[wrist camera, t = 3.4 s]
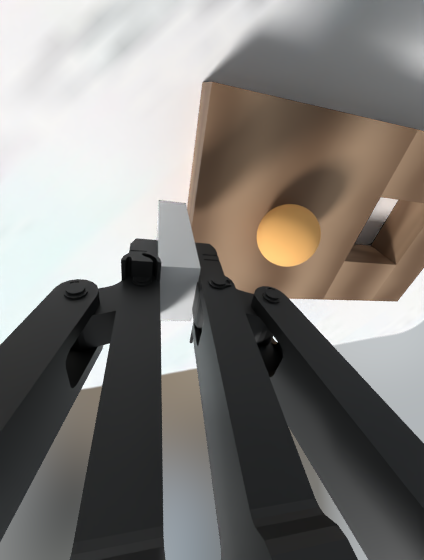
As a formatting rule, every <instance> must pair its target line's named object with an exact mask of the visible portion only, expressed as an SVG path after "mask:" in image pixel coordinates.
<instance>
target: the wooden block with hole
mask: <svg viewBox="0 0 424 560" xmlns="http://www.w3.org/2000/svg"><path fill="white" fill-rule="evenodd" d="M380 197H384V198H391V199H398V202H397V204H396V205H395V207H394V208H393V210H392V212H391V213H390V215H389V217H388V218H387V220H386V222H385V223H384V225H383V227H382V228H381V230H380V231H379V233H378V235H377V236H376V238H375V240H374V241H373V243H372V245H371V246H369V245H358V244H354V243H355V242H356V240H357V238H358V236H359V234H360V233H361V231H362V229H363V227H364V226H365V224H366V222H367V220H368V218H369V217H370V215H371V213H372V211H373V210H374V208H375V206H376V204H377V202H378V201H379V199H380ZM285 204H296V205H300V206H303V207H305V208H307V209H308V210H310V211H311V212H312V213H313V214H314V215H315V217H316V218H317V220H318V222H319V225H320V229H321V239H320V243H319V246H318V248H317V250H316V251H315V253H314V254H313V255H312V256H311V257H310V258H309V259H308V260H307V261H305V262H303V263H301V264H299V265H296V266H290V267H285V266H279V265H276V264H273V263H272V262H270V261H268V260H267V259H266V258H265V257H264V256H263V255H262V253H261V252H260V250H259V247H258V244H257V229H258V226H259V224H260V222H261V220H262V219H263V217H264V216H265V215H266V214H267V213H268V212H269V211H270V210H272V209H274V208H275V207H278V206H281V205H285ZM187 211H188V216H189V220H190V224H191V229H192V233H193V237H194V242H195V243H207V244H211V245H212V246H213V247H214V248H215V249H216V252H217V255H218V258H219V261H220V263H221V266H222V269H223V272H224V275H225V276H226V277H228V278H229V279H231V280H232V281H233V283H234V285H235V287H236V289H238V290H241V291H244V292H248V293H252V294H254V292H255V290H256V289H257V288H259V287H262V286H269V287H273V288H276V289H278V290H280V291H281V292H282V293H284V294H285V295H286V296H287V297H288V298H291V299H327V300H364V301H398V300H399V299H400V297H401V296H402V295H403V294H404V292H405V291H406V290H407V288H408V287H409V286H410V285H411V283H412V282H413V281H414V280H415V278H416V277H417V276H418V275H419V273H420V272H421V271H422V269H423V268H424V131H422V130H417V129H413V128H409V127H405V126H400V125H396V124H392V123H387V122H383V121H379V120H374V119H370V118H366V117H361V116H357V115H353V114H349V113H344V112H340V111H336V110H331V109H327V108H323V107H318V106H314V105H310V104H306V103H301V102H297V101H293V100H288V99H284V98H280V97H275V96H271V95H267V94H262V93H258V92H254V91H250V90H245V89H241V88H237V87H232V86H228V85H224V84H219V83H215V82H203V83H202V91H201V99H200V107H199V115H198V124H197V132H196V140H195V148H194V156H193V164H192V173H191V181H190V189H189V197H188V205H187Z"/></svg>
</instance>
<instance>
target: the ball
mask: <svg viewBox="0 0 424 560" xmlns="http://www.w3.org/2000/svg"><path fill="white" fill-rule="evenodd" d="M320 239H321V229H320V225H319V222H318V220H317V218H316V217H315V215H314V214H313V213H312V212H311V211H310V210H308V209H307V208H305V207H303V206H300V205H296V204H285V205H281V206H278V207H275V208H274V209H272V210H270V211H269V212H268V213H267V214H266V215H265V216H264V217H263V219H262V220H261V222H260V224H259V226H258V229H257V244H258V247H259V250H260V252H261V253H262V255H263V256H264V257H265V258H266V259H267V260H268V261H270V262H272V263H273V264H276V265H279V266H285V267H290V266H296V265H299V264H301V263H303V262H305V261H307V260H308V259H309V258H310V257H311V256H312V255H313V254H314V253H315V251H316V250H317V248H318V246H319V243H320Z"/></svg>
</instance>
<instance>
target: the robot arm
mask: <svg viewBox="0 0 424 560" xmlns="http://www.w3.org/2000/svg"><path fill="white" fill-rule="evenodd" d="M121 269H122V281H121V282H119V283H118V284H115V285H113V286H109V287H105V288H99V289H98V287H97V285H96V284H94V283H93V282H91V281H88V280H80V279H76V280H70V281H66V282H64V283H61V284H60V285H58V286H57V287H56V288H54V289H53V291H52V292H51V293H50V294H49V295H48V296H47V297H46V298H45V299H44V300H43V301H42V302H41V303H40V304H39V305H38V306H37V307H36V308H35V309H34V310H33V311H32V312H31V313H30V315H29V316H28V317H27V318H26V319H25V320H24V321H23V322H22V323H21V324H20V325H19V326H18V327H17V328H16V329H15V330H14V331H13V332H12V333H11V334H10V335H9V336H8V338H7V339H6V340H5V341H4V342H3V343H2V344H1V345H0V541H1V539H2V538H3V536H4V534H5V532H6V530H7V528H8V526H9V524H10V522H11V520H12V518H13V517H14V515H15V513H16V511H17V509H18V507H19V505H20V504H21V502H22V500H23V498H24V496H25V494H26V492H27V490H28V488H29V486H30V485H31V483H32V481H33V479H34V477H35V475H36V473H37V471H38V470H39V468H40V466H41V464H42V462H43V460H44V458H45V456H46V454H47V453H48V451H49V449H50V447H51V445H52V443H53V441H54V439H55V437H56V436H57V434H58V432H59V430H60V428H61V426H62V424H63V422H64V420H65V418H66V417H67V415H68V413H69V411H70V409H71V407H72V405H73V403H74V402H75V400H76V398H77V396H78V394H79V392H80V390H81V388H82V386H83V385H84V383H85V381H86V379H87V377H88V375H89V373H90V371H91V369H92V367H93V366H94V364H95V362H96V360H97V358H98V356H99V354H100V352H101V350H102V349H103V345H105V344H109V343H110V347H109V352H108V358H107V363H106V369H105V374H104V380H103V385H102V391H101V396H100V402H99V407H98V412H97V418H96V423H95V429H94V435H93V440H92V446H91V451H90V456H89V462H88V467H87V473H86V478H85V483H84V489H83V494H82V500H81V505H80V511H79V517H78V522H77V527H76V532H75V538H74V543H73V548H72V553H71V557H70V560H165V552H164V539H163V485H162V484H163V482H162V481H163V480H162V479H163V477H162V402H161V321H191V318H192V313H193V319H194V322H193V327H192V332H191V337H190V343H192V342H193V341H194V349H195V356H196V364H197V371H198V379H199V386H200V394H201V401H202V409H203V416H204V424H205V431H206V438H207V446H208V454H209V461H210V469H211V476H212V484H213V491H214V498H215V505H216V514H217V521H218V529H219V536H220V545H221V560H358V559H357V557H356V555H355V553H354V551H353V549H352V547H351V545H350V543H349V541H348V539H347V537H346V536H345V535H344V533H343V532H342V531H341V529H340V528H339V526H338V525H337V524H336V523H334V522H333V521H332V520H331V519H329V518H328V517H327V516H326V515H325V514H324V513H323V512H322V510H321V509H320V507H319V505H318V503H317V501H316V499H315V497H314V494H313V491H312V489H311V486H310V483H309V481H308V478H307V475H306V473H305V470H304V468H303V465H302V462H301V460H300V457H299V454H298V451H297V449H296V446H295V444H294V441H293V438H292V436H291V433H290V430H291V431H292V433H293V435H294V436H295V438H296V440H297V441H298V443H299V445H300V446H301V448H302V450H303V451H304V453H305V455H306V456H307V458H308V460H309V461H310V463H311V465H312V466H313V468H314V469H315V471H316V473H317V475H318V476H319V478H320V480H321V481H322V483H323V485H324V486H325V488H326V490H327V491H328V493H329V495H330V496H331V498H332V500H333V501H334V503H335V505H336V506H337V508H338V510H339V511H340V513H341V515H342V516H343V518H344V519H345V521H346V523H347V524H348V526H349V528H350V530H351V531H352V533H353V535H354V536H355V538H356V540H357V541H358V543H359V545H360V546H361V548H362V549H363V551H364V553H365V554H366V556H367V558H368V560H424V443H423V442H422V441H421V440H420V439H419V438H418V437H417V436H416V435H415V434H414V433H413V432H412V430H411V429H410V428H409V427H408V426H407V425H406V424H405V423H404V422H403V421H402V420H401V419H400V418H399V417H398V415H397V414H396V413H395V412H394V411H393V410H392V409H391V408H390V407H389V406H388V405H387V404H386V403H385V402H384V401H383V399H382V398H381V397H380V396H379V395H378V394H377V393H376V392H375V391H374V390H373V389H372V388H371V386H370V385H369V384H368V383H367V382H366V381H365V380H364V379H363V378H362V377H361V376H360V375H359V374H358V372H357V371H356V370H355V369H354V368H353V367H352V366H351V365H350V364H349V363H348V362H347V361H346V360H345V359H344V358H343V356H342V355H341V354H340V353H339V352H338V351H337V350H336V349H335V348H334V347H333V346H332V345H331V343H330V342H329V341H328V340H327V339H326V338H325V337H324V336H323V335H322V334H321V333H320V332H319V331H318V330H317V328H316V327H315V326H314V325H313V324H312V323H311V322H310V321H309V320H308V319H307V318H306V317H305V316H304V315H303V313H302V312H301V311H300V310H299V309H298V308H297V307H296V306H295V305H294V304H293V303H292V302H291V301H290V299H289V298H288V297H287V296H286V295H285V294H284V293H282V292H281V291H280V290H278V289H276V288H273V287H269V286H262V287H259V288H257V289H256V290H255V292H254V294H252V293H248V292H244V291H241V290H238V289H236V287H235V285H234V283H233V281H232V280H231V279H229V278H228V277H226V276H225V275H224V272H223V269H222V266H221V263H220V261H219V258H218V255H217V252H216V249H215V248H214V247H213V246H212V245H211V244H207V243H195V242H194V237H193V233H192V229H191V224H190V220H189V216H188V211H187V207H186V203H179V202H171V201H162V200H159V204H158V221H157V238H156V240H148V239H135V240H134V241H133V242H132V243H131V245H130V251H129V253H128V254H126V255H125V256H123V258H122V259H121ZM273 336H274V337H275V338H276V340H277V341H278V342H276V341H275V340H274V339H273V338H272V337H273ZM288 426H289V428H290V430H289V428H288Z"/></svg>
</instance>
